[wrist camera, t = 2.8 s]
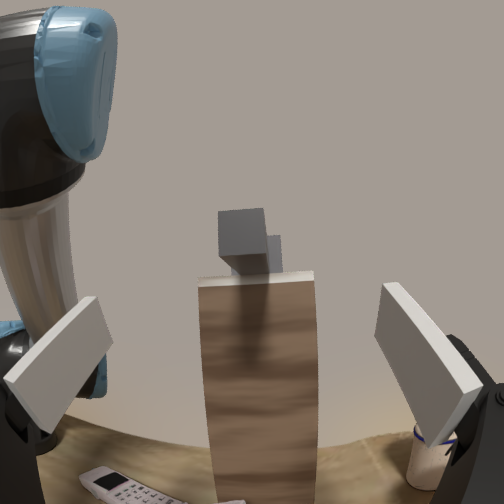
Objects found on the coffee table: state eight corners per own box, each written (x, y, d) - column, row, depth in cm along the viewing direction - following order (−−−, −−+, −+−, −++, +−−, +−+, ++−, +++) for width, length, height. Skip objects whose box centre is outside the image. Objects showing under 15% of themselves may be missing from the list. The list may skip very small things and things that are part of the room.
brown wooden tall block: (313, 503, 22) (313, 270, 28) (218, 504, 23) (197, 277, 28) (307, 466, 31) (303, 279, 37) (230, 468, 32) (217, 284, 38)
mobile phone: (226, 531, 13) (61, 451, 21) (231, 559, 12) (72, 482, 20) (249, 499, 19) (91, 442, 27) (251, 529, 18) (99, 471, 26)
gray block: (290, 251, 17) (283, 179, 18) (196, 257, 17) (196, 186, 18) (281, 281, 38) (279, 245, 39) (238, 283, 38) (237, 248, 39)
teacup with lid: (474, 473, 15) (494, 401, 18) (421, 501, 16) (441, 428, 18) (434, 445, 27) (443, 384, 29) (387, 462, 27) (395, 399, 30)
